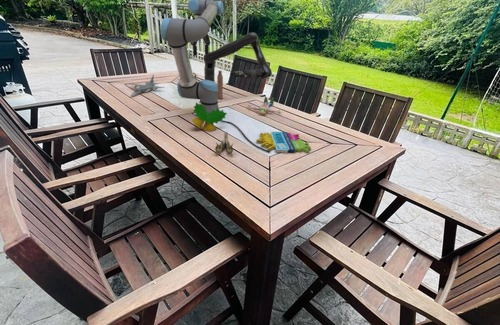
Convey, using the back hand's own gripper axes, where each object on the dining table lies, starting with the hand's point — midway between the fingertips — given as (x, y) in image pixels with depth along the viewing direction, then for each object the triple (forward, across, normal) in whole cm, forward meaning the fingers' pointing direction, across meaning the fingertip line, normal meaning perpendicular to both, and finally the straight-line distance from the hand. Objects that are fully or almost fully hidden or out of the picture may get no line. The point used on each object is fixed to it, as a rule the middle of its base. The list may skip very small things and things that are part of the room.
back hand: (232, 74), depth 219 cm
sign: (+5, +95, +20) cm, 97 cm away
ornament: (+39, +63, +20) cm, 76 cm away
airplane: (+68, -35, +20) cm, 79 cm away
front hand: (+28, +7, -16) cm, 33 cm away
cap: (+28, +7, +18) cm, 34 cm away
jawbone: (+40, +95, +20) cm, 105 cm away
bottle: (+11, 0, +20) cm, 23 cm away
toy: (-14, +37, +20) cm, 44 cm away
